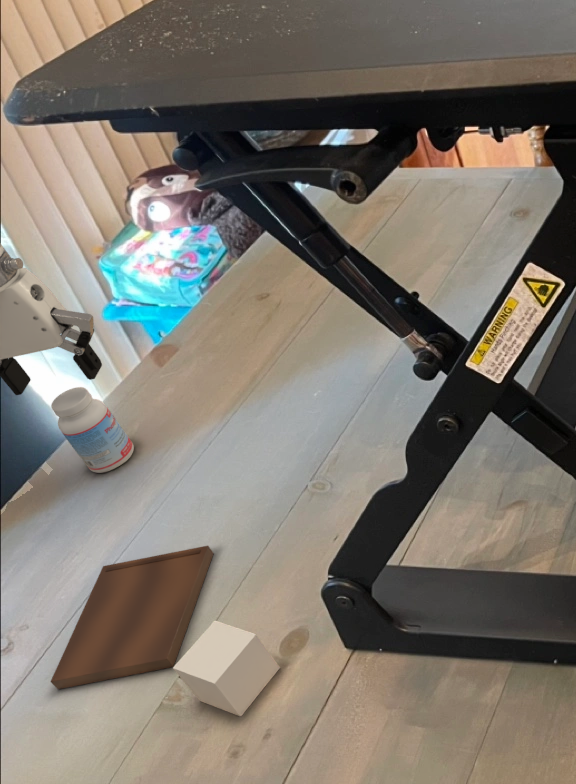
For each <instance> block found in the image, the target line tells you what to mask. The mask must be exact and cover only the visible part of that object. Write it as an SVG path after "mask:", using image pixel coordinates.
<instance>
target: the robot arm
mask: <svg viewBox="0 0 576 784" xmlns="http://www.w3.org/2000/svg"><path fill="white" fill-rule="evenodd" d="M74 326H75V327H78V329H79V330H77V329H75V328H73V327H74ZM94 327H95V325H94V316H93V315H92V314H90V313H85V312H80V311H74V310H73V311H72V310H67V309H66V307H65V306H64V305H63V303H62V302H61V301H60V300H59V298H58V297H57V296H56V295H55V294H54V293H53V292H52V291H51V290H50V288H48V286H47V285H46V284H45V283H44V282H42V280H41V279H40V278H39V277H37V276H36V275H35V274H34V273H33V272H32V271H30V270H29V269H27V268H26V267H24V261H23V260H22V258H21V257H15V258H13V257H12V256H11V255H10V254H9V252H8V251H7V250H6V248H5V247H4V246H3V245H2V243H1V242H0V378H1V379H2V380H3V382H4V383H5V384H6V385H7V387H9V389H10V390H11V391H12V393H13V394H14V395H15V396H21V395H22V394H23V393H24V392H25V390H26V388H27V387H28V385H29V384H30V382H31V381H32V379H31V376H29V375H28V373H27V372H26V370H25V369H24V368H23V367H22V366H21V364H20V363H19V362H18V360H17V359H16V358H15V357H19V356H24V355H29V354H35V353H38V352H43V351H47V350H48V351H49V350H53V349H55V348H60V349H62V350H64V351H66V352H69V353H72V354H73V356H72V359H73V361H74V363H75V364H76V365H77V367H78V368H79V369H80V371H81V372H82V374H83V375H84V376H85V377H86V379H87V380H89V381H90V380H95V379H96V377H97V375H98V374H99V372H100V370H101V368H102V366H103V364H102V360H101V359H100V357H99V356H98V354H97V353H96V352H95V350H94V349H93V347H92V346H91V344H90V342H91V341H92V338H93V335H94V333H95V328H94ZM66 338H69V339H70V340H73V341H75V342H73V341H70V340H69V339H66Z"/></svg>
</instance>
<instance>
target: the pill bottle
mask: <svg viewBox="0 0 576 784" xmlns="http://www.w3.org/2000/svg"><path fill="white" fill-rule="evenodd" d="M50 407H51V410H52V411H53V412H54V414H55V415H56V416H57V417H58V419H57V426H58V429H59V431H60V432H61V433H62V435H63V436H64V438H65V439H66V440H67V441H68V443H69V444H70V445H71V447H72V448H73V450H74V451H75V452H76V454H77V455H78V456H79V458H80V459H81V460H82V461H83V463H84V464H85V466H86V467H87V469H88V470H90V471H91V472H93V473H98V474H100V473H107V472H110V471H112V470H115V469H116V468H118V467H119V466H121V465H123V464H125V463H126V462H127V461H128V460H129V459H130V458H131V457H132V455H133V453H134V450H135V446H134V443H133V441H132V440H131V439H130V437H129V436H128V434H127V433H126V431H125V430H124V429H123V428H122V426H121V424H120V423H119V422H118V421H117V418H116V417H115V416H114V415H113V413H112V411H110V410H109V407H108V406H107V405H106V404H105V402H103V401H102V400H100V399H97V398H93V395H92V394H91V393H90V392H89V390H88V389H87V388H86V387H83V386H78V387H77V386H76V387H72V388H70V389H67V390H65V391H63V392H62V393H60V394H58V395H57V396H56V397H55V398H54V399H53V400H52V402H51V404H50Z"/></svg>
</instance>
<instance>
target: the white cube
mask: <svg viewBox="0 0 576 784" xmlns="http://www.w3.org/2000/svg"><path fill="white" fill-rule="evenodd" d="M177 661H178V662H176V664H174V667H172V670H174V672H175V673H176V674H177V676H179V678H180V679H181V680H182V682H183V683H184V684H185V685H186V686H187V688H188V689H189V690H190V691H191V692H192V694H193V695H194V696H195V698H197V700H198V701H199V702H202V703H204V704H207V705H209V706H212V707H215V708H217V709H218V710H221V711H224V712H228V713H230V714H233V715H235V716H238V717H242V716H243V715H244V714H245V712H246V711H247V710H248V708H249V707H250V706H251V705H252V703H254V701H255V700H256V698H257V697H258V696H259V695H260V694H261V692H262V691H263V690H264V689H265V687H266V686H267V685H268V684H269V682H270V681H271V680H272V678H273V677H274V676H275V675H276V674H277V672H278V671H279V670H280V669H281V667H280V665H279V664H278V663H277V661H276V660H275V659H274V657H273V656H272V654H271V652H270V651H269V650H268V649H267V647H266V646H265V644H264V643H263V642H262V641H261V638H259V636H258V635H257V634H256V633H253V632H250V631H247V630H245V629H242V628H239V627H236V626H233V625H229V624H227V623H224V622H221V621H218V620H214V621H213V622H211V624H210V625H209V626H208V627H207V628H206V630H205V631H204V632H203V633H202V634H201V635H200V636H199V638H198V639H196V641H195V642H194V643H193V644H192V645H191V647H190V648H189V649H188V650H187V651H186V652H185V653H184V654H183V656H181V658H180V659H179V660H177Z"/></svg>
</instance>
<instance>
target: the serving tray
mask: <svg viewBox="0 0 576 784" xmlns="http://www.w3.org/2000/svg"><path fill="white" fill-rule="evenodd" d="M213 557H214V552H213V550H212V549H211V547H210V546H209V545H204V546H198V547H193V548H187V549H184V550H178V551H172V552H168V553H163V554H159V555H153V556H148V557H147V556H146V557H143V558H138V559H133V560H128V561H123V562H117V563H113V564H107V565H103V566H102V567H101V570H100V572H99V574H98V576H97V578H96V581H95V583H94V586H93V587H92V590H91V591H90V594H89V596H88V598H87V600H86V603H85V605H84V607H83V609H82V612H81V614H80V615H79V618H78V621H77V622H76V625H75V627H74V629H73V631H72V632H71V636H70V638H69V640H68V642H67V644H66V647H65V649H64V651H63V653H62V655H61V657H60V660H59V662H58V664H57V666H56V668H55V670H54V673H53V675H52V678H51V680H50V683H51V684H52V685H53V687H55V688H56V689H57V690H63V689H67V688H72V687H78V686H82V685H83V686H84V685H88V684H92V683H98V682H102V681H108V680H114V679H118V678H124V677H128V676H133V675H140V674H144V673H150V672H154V671H159V670H164V669H170V668H173V667H174V666H175V665H176V664H175V663H176V661H177V658H178V655H179V653H180V648H181V647H182V644H183V641H184V638H185V635H186V633H187V630H188V627H189V624H190V621H191V619H192V615H193V613H194V610H195V607H196V604H197V602H198V599H199V596H200V593H201V590H202V587H203V585H204V582H205V579H206V577H207V574H208V570H209V568H210V565H211V562H212V559H213Z"/></svg>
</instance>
